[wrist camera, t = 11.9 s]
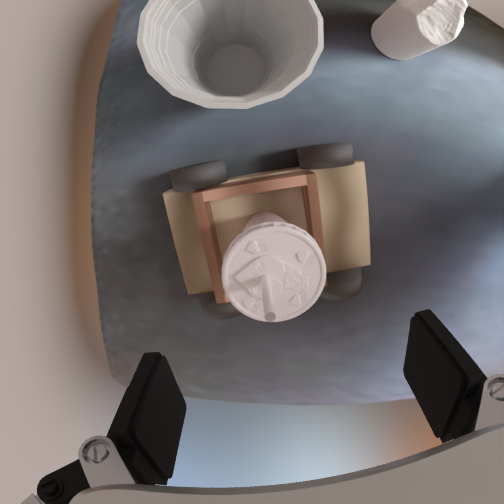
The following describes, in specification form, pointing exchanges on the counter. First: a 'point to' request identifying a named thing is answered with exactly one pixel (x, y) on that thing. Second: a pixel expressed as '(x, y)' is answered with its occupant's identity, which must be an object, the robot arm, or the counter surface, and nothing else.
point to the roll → (417, 27)
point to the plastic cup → (230, 48)
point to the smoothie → (273, 269)
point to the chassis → (276, 201)
